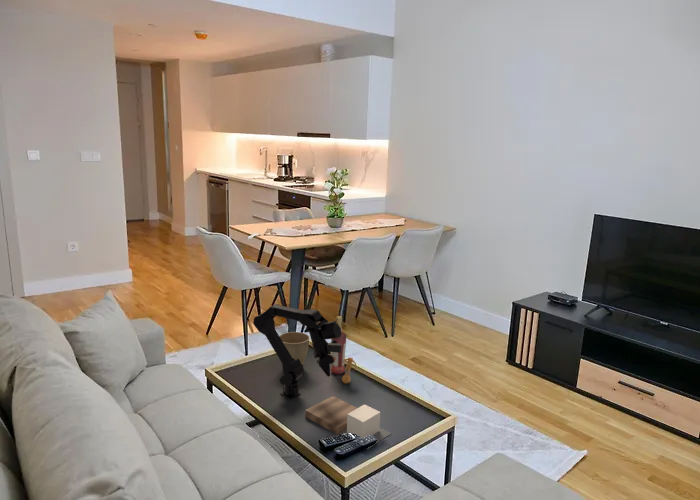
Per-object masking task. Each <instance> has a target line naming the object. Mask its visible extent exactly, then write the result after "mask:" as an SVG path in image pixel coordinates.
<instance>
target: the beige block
mask: <svg viewBox="0 0 700 500" xmlns="http://www.w3.org/2000/svg"><path fill="white" fill-rule="evenodd" d="M356 408H357V409H355V410H354V411H352V412H350V413H348V414H347V433H353V434H356V435H358V436H360V437H361V438H364V437H366V436H368V435H374V434H375V433H377V432H379V431H380V428H381V411H379V410H377V409H375V408H373V407H370V406H369V405H366V404H362V405H361V406H359V407H356Z"/></svg>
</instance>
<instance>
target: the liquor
mask: <svg viewBox="0 0 700 500" xmlns="http://www.w3.org/2000/svg"><path fill="white" fill-rule="evenodd" d="M335 319H336V320H335V321H336V324H338V325H339V326H340V328H341V336H340V337H339V338H333V339H330V342H331V341H332V340H336V341H337V343H340V344H341V345H342V348H341V353H338V352H331V356H332V357H333V358H334V363H331V367H330V372H331V373H333V374H335V375H342V374H343V373H344V372H345V371H346V370H345V362H344V363H343V361H344V360H345V359H346V348H347V333H345V332H343V326H342V323H343V317H342V315H341V316H340V315H337V316H336V318H335ZM345 361H346V360H345ZM342 363H343V364H342ZM341 364H342V365H341Z"/></svg>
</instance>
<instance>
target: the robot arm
mask: <svg viewBox="0 0 700 500" xmlns="http://www.w3.org/2000/svg"><path fill="white" fill-rule="evenodd" d="M275 317H278V318H279V317H280V318H283V319H288V320H292V321H296V322H299V323H300V324H301V325H302V326H305V330H303V333H305V334H307V333H308V335H309V337H310V341H311V345H312V348H313V350H314V351H313V357H314V358H315V359H317V360H316V363H317V365H318V366H319V368H321V370H322V371H323V372H324V373H325V375H326V377H331V365H332V363H334V358H333V357H332V352H338V353H341V348H342V345H341V344H340V343H337V341H336V340H332V341H331V339H333V338H339V337H340V336H341V328H340V326H339V325H338V324H337V322H336V320H333V321H330V322H329V321H328V320H327V319H326V318H325V317H324V316H323V315H322V314H321V313H320V310H317V309H299V308H298V309H297V308H292V307H288V306H285V305H280V304H276V303H275V304H273V305H272V306H269V307H268V309H267V310H265V311H263V313H261V314H259V315H257V316H255V317H254V318H253V326H254V327H255V329H256V330H257V331H258V332H259V333H261V334H262V335H264V336H265V337H266V339H267V341H268V342H269V344H270V346H271V347H272V349H273V351H274V353H275V354H276V356H277V358H278V359H279V361H280V362H281V365H282V373H283V376H281V377H280V378H279V381H280V384H281V385H282V391H281V392H280V395H282V396H284V397H286V398H287V399H289V400H290V399H294V398H295V397H297V396H299V395H301V392H300V391H299V381H298V380H300V379H301V377H303V375H304V372H305V369H304V364H303V365H302V364H301V362H300V360H299V359H297V360H295V359H294V358H292V356H291V355H290V353H289V352H288V350H287V348H286V347H285V345H284V343H283V342H282V340H281V338H280V337H279V336H280V334H278V332H277V330H276V324H275V320H274V318H275ZM327 340H330V342H328V341H327Z"/></svg>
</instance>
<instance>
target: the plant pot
mask: <svg viewBox="0 0 700 500" xmlns="http://www.w3.org/2000/svg"><path fill="white" fill-rule="evenodd" d="M279 337H280V338H281V340H282V342H283V343H284V345H285V347H286V348H287V350H288V352H289V353H290V355H291V356H292V358H294V359H295V360H297V359H299V360H300V362H301V364H302V365H303V366H304V363H305V360H306V357H307V354H308V349H309V344H310V340H311V337H310V334H307V333H305V332H300V331H290V332H284V333H282V334H279Z"/></svg>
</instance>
